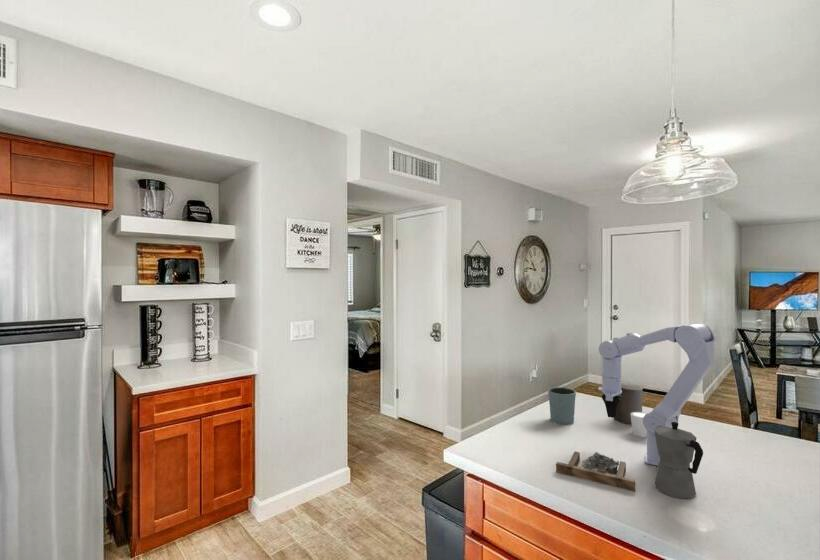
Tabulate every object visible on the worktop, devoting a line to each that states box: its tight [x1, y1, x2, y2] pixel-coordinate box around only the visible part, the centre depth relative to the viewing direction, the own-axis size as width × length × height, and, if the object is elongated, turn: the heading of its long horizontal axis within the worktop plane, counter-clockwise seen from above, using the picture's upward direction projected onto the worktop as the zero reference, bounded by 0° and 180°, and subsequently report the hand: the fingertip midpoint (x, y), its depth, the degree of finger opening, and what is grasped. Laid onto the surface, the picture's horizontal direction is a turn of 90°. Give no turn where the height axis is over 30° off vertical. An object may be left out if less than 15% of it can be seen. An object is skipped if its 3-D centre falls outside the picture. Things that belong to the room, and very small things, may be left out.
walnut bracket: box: [555, 451, 636, 492], centre depth 117 cm, size 20×12×2 cm, turn 58°
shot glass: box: [631, 411, 647, 438], centre depth 146 cm, size 7×7×7 cm
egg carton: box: [581, 451, 620, 475], centre depth 118 cm, size 11×8×4 cm
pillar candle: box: [614, 382, 644, 426], centre depth 159 cm, size 10×10×15 cm
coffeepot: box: [654, 422, 704, 500], centre depth 106 cm, size 15×9×18 cm, turn 6°
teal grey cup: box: [547, 386, 577, 426], centre depth 159 cm, size 10×10×12 cm
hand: (611, 417), depth 136 cm, fingers closed
